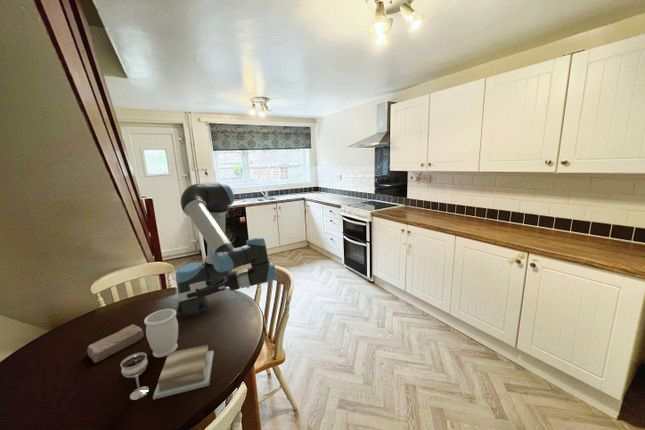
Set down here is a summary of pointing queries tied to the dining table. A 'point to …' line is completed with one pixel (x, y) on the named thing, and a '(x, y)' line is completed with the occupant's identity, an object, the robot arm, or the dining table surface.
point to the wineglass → (135, 372)
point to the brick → (114, 343)
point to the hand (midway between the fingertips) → (184, 292)
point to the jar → (162, 332)
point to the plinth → (184, 368)
